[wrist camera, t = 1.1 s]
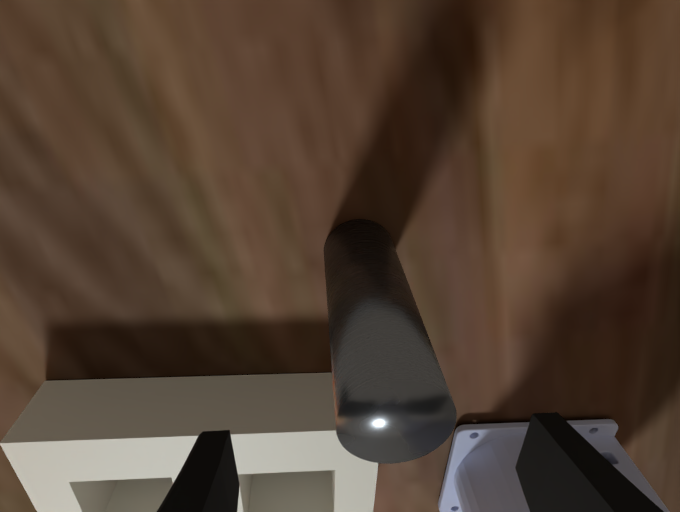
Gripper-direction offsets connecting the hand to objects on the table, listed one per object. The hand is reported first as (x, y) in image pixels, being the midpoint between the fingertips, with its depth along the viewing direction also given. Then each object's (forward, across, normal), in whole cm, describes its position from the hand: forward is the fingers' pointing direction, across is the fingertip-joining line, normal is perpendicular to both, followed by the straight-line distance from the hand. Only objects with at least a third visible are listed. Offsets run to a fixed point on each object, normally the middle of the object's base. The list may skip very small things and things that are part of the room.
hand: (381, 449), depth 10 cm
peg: (+9, 0, 0) cm, 9 cm away
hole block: (+9, +7, +12) cm, 16 cm away
